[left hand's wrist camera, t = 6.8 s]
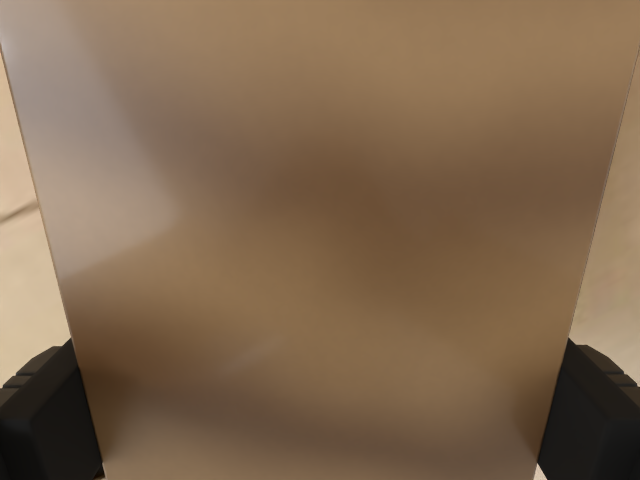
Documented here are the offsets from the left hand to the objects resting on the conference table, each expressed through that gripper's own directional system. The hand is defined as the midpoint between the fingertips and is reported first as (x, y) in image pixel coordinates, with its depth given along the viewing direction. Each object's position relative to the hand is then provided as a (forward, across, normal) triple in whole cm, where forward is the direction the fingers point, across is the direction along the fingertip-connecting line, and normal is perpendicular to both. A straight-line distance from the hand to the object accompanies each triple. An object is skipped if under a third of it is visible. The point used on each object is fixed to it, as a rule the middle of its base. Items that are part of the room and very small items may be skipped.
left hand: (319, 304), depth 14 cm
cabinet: (+6, 0, -6) cm, 8 cm away
